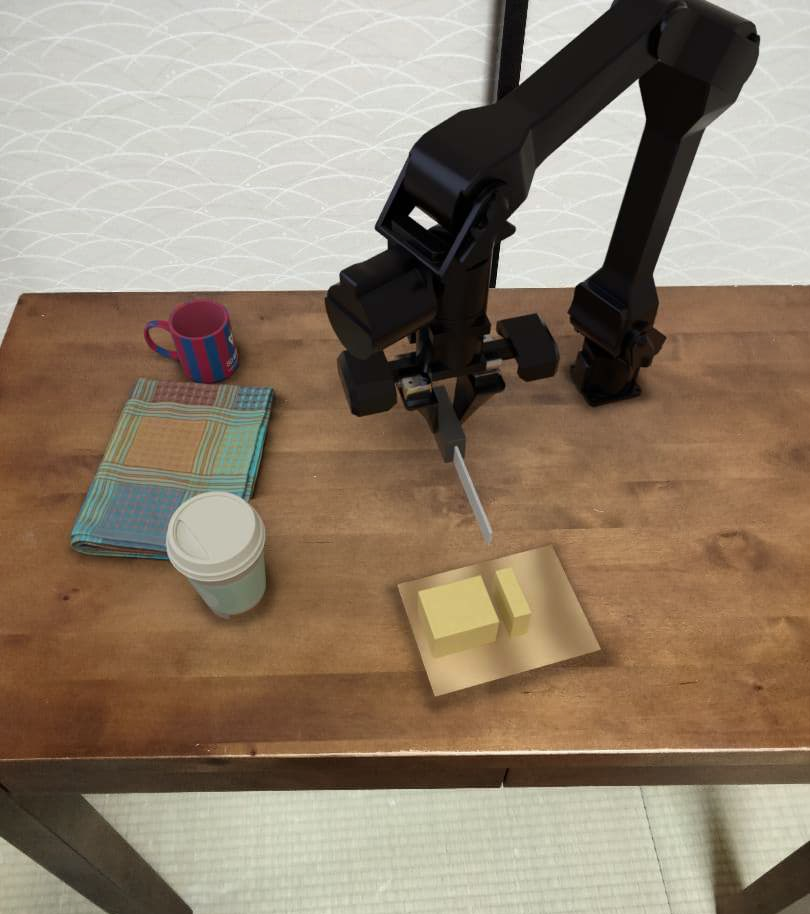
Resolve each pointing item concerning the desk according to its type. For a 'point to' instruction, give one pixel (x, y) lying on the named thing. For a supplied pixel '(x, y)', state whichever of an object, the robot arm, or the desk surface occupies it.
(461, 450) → the knife
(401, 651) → the desk surface
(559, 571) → the board
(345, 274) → the robot arm
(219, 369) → the cup
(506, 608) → the butter slice
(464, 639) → the butter block
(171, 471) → the dish towel
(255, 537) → the coffee cup
